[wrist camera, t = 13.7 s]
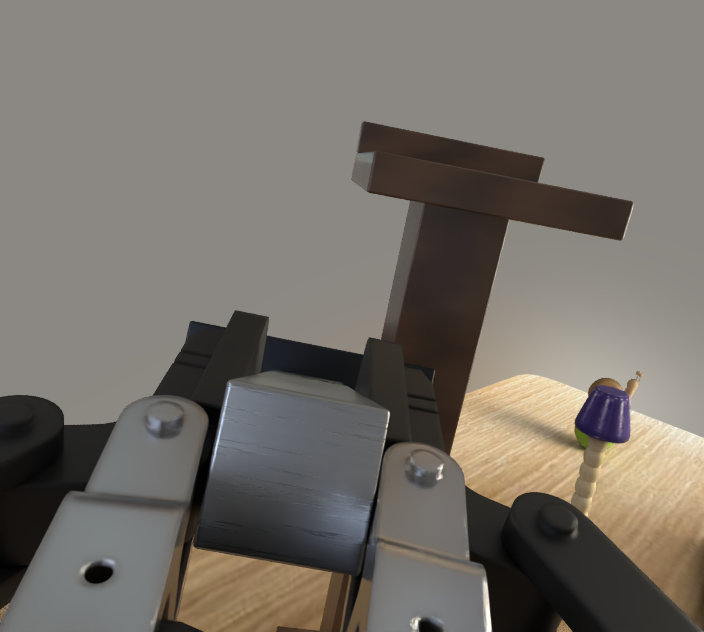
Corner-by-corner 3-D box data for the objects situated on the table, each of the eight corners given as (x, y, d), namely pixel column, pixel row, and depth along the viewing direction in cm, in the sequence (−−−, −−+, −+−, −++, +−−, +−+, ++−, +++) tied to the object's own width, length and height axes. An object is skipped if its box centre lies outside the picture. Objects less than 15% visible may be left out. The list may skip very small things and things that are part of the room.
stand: (247, 813, 29) (383, 103, 21) (267, 637, 39) (361, 121, 31) (443, 829, 30) (648, 158, 22) (411, 653, 40) (540, 158, 32)
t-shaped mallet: (573, 615, 8) (610, 377, 8) (-43, 509, 7) (21, 259, 8) (401, 452, 22) (417, 368, 22) (188, 412, 21) (207, 326, 22)
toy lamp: (535, 555, 54) (586, 390, 50) (539, 530, 59) (587, 376, 54) (589, 576, 53) (646, 407, 49) (589, 549, 57) (642, 391, 53)
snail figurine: (624, 462, 79) (652, 379, 76) (578, 454, 78) (605, 371, 75) (606, 443, 84) (632, 365, 81) (564, 436, 84) (588, 357, 81)
